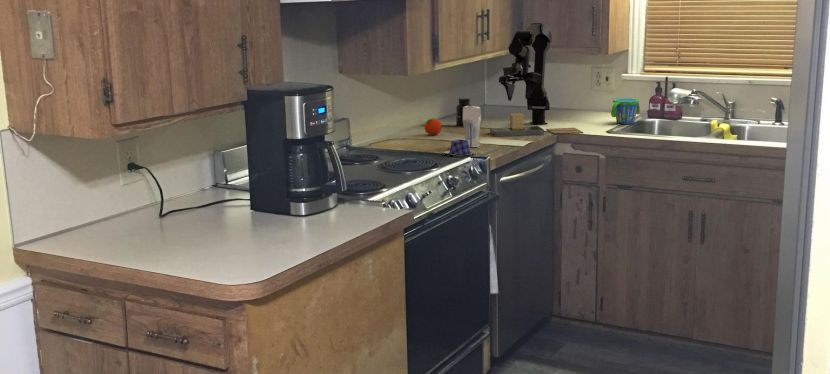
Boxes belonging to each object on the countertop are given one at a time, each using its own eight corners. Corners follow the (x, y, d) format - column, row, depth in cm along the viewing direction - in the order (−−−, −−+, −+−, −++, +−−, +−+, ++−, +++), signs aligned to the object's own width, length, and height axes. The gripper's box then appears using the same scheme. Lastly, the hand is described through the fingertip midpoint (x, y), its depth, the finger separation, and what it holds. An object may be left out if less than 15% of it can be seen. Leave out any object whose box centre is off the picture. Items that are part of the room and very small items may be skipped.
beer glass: (469, 148, 339) (468, 108, 335) (459, 146, 345) (459, 106, 342) (485, 147, 342) (484, 107, 339) (475, 144, 348) (475, 105, 345)
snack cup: (619, 126, 382) (620, 102, 380) (603, 123, 391) (603, 99, 389) (647, 123, 390) (648, 99, 388) (630, 120, 399) (631, 97, 397)
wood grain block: (510, 133, 372) (510, 113, 370) (520, 132, 373) (520, 113, 371) (512, 134, 368) (512, 115, 366) (523, 134, 368) (523, 114, 367)
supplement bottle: (454, 126, 392) (453, 99, 389) (459, 124, 398) (459, 97, 395) (469, 127, 389) (469, 99, 386) (474, 125, 395) (474, 97, 393)
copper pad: (546, 129, 378) (546, 128, 377) (574, 128, 379) (574, 127, 379) (554, 134, 366) (554, 133, 366) (583, 133, 367) (583, 132, 367)
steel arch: (490, 132, 374) (490, 127, 373) (537, 130, 376) (537, 125, 376) (495, 136, 364) (495, 131, 364) (543, 134, 366) (544, 129, 366)
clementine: (432, 137, 366) (431, 119, 364) (419, 135, 371) (418, 118, 369) (444, 134, 372) (444, 117, 370) (432, 133, 376) (431, 116, 375)
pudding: (457, 150, 337) (457, 136, 336) (483, 154, 330) (483, 139, 328) (436, 155, 328) (436, 141, 327) (463, 159, 321) (462, 144, 320)
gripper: (491, 59, 368) (487, 97, 366) (525, 54, 354) (521, 93, 352) (510, 65, 375) (506, 102, 373) (544, 61, 361) (540, 99, 359)
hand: (518, 99), depth 364 cm, fingers open, 9 cm apart
